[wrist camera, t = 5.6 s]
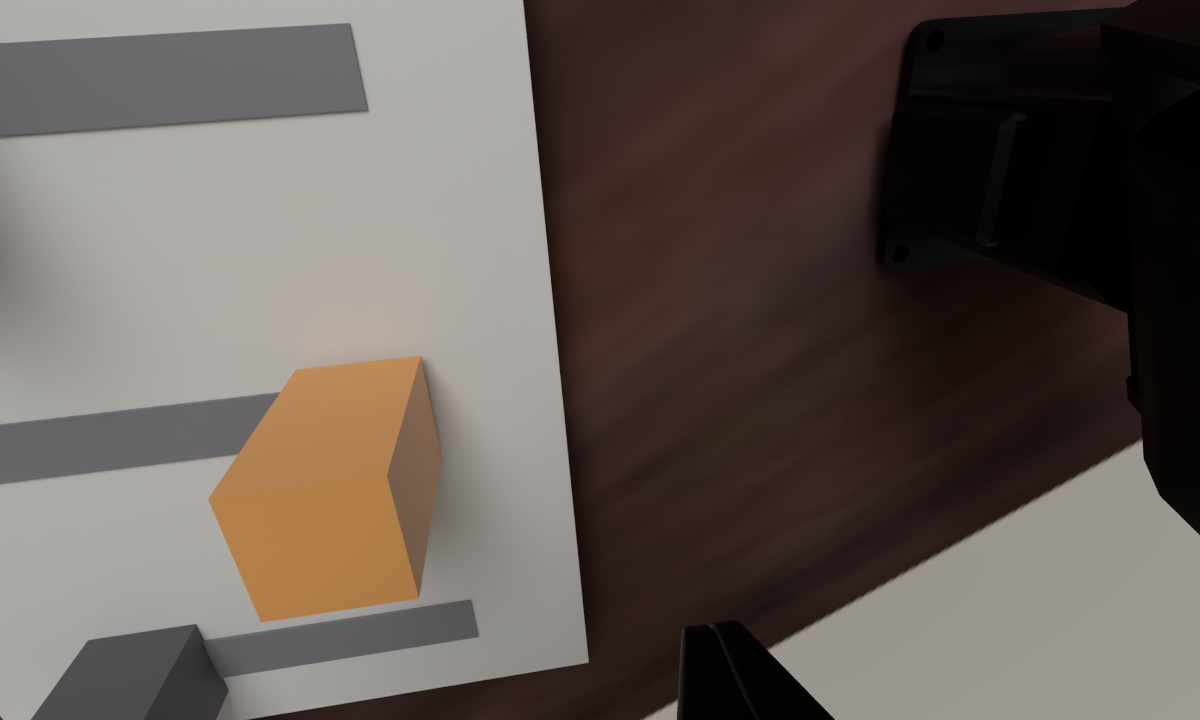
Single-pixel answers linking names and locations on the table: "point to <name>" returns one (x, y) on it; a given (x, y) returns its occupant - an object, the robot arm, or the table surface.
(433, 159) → the breaker panel
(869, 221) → the table surface
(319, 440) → the block
